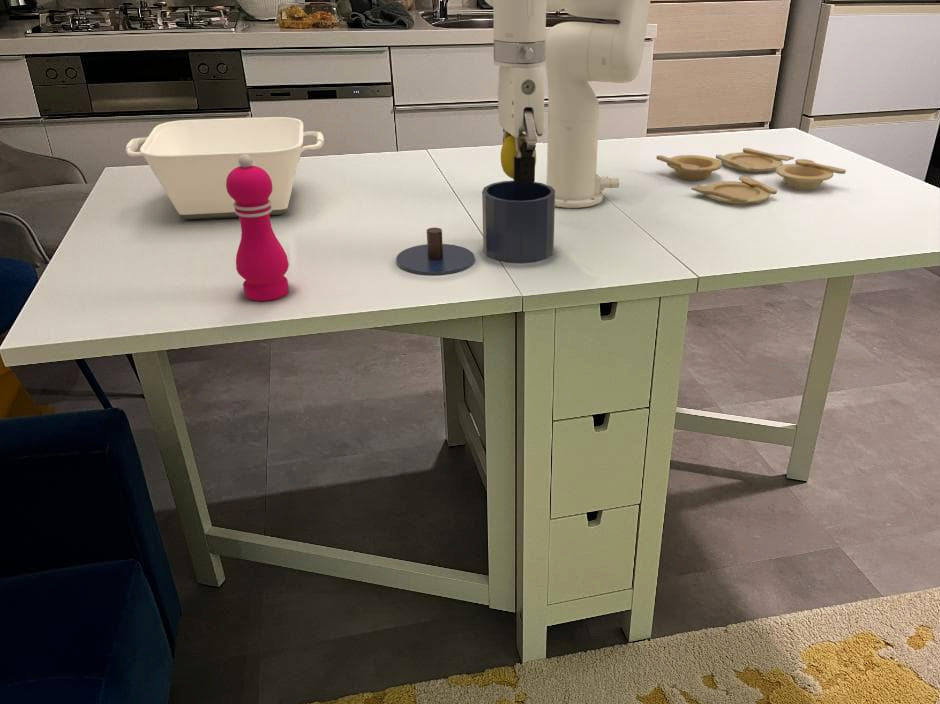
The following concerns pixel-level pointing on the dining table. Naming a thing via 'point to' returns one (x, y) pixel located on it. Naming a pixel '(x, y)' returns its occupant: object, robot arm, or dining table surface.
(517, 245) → the tin
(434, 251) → the tin lid
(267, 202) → the pepper mill
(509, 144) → the lemon
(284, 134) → the tub
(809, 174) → the tableware set
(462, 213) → the dining table surface
